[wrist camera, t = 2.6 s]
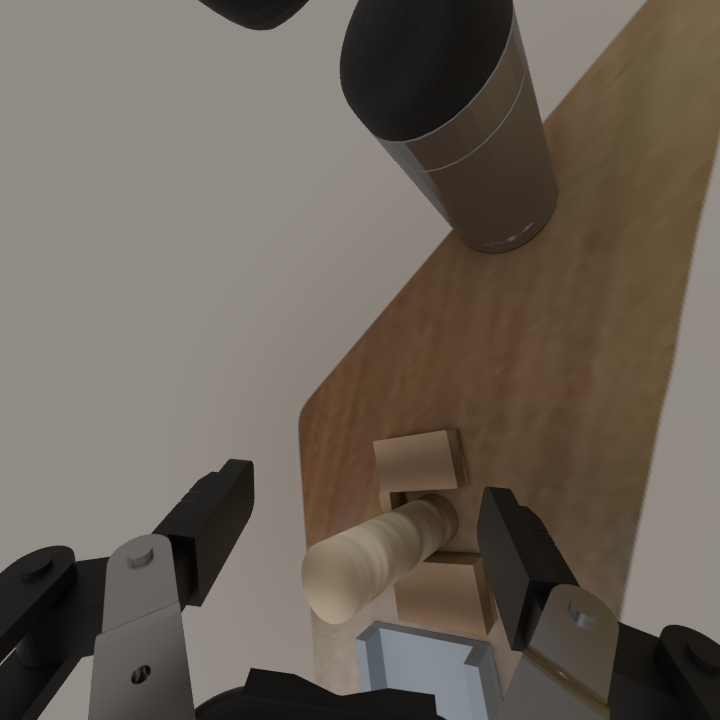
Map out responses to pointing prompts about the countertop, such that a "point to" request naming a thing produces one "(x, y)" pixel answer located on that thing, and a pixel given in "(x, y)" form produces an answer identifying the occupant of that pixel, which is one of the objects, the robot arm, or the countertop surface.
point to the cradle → (431, 669)
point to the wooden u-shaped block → (441, 569)
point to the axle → (374, 556)
